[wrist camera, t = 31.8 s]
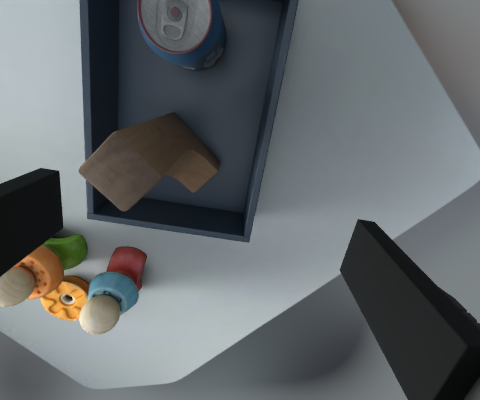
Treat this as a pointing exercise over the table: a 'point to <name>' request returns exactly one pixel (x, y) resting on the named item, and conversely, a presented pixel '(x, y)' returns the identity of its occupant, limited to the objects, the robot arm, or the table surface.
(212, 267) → the table surface
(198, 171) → the wooden block
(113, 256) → the stacking toy
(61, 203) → the robot arm
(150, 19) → the soda can
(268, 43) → the bin
